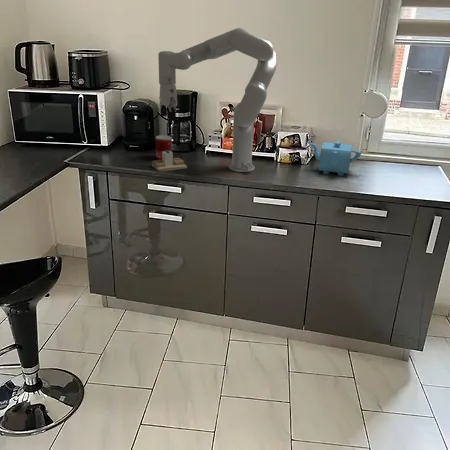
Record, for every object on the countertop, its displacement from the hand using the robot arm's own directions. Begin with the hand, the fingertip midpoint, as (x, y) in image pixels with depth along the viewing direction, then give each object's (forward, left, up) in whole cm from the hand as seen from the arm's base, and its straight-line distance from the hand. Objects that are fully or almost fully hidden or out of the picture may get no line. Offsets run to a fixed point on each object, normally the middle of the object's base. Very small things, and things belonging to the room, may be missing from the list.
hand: (168, 118), depth 227 cm
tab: (0, +1, -22) cm, 22 cm away
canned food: (+12, -3, -24) cm, 27 cm away
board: (-1, 0, -23) cm, 23 cm away
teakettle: (-40, -69, -24) cm, 83 cm away
